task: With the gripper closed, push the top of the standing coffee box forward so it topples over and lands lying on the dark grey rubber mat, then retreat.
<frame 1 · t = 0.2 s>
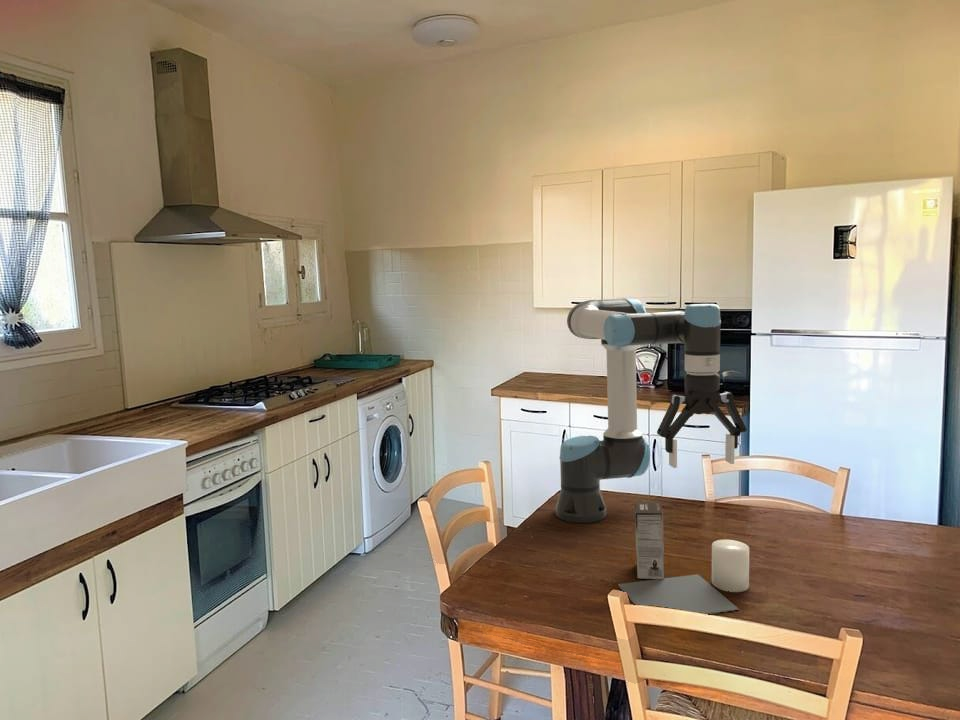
hand: (701, 464, 149), 28 cm above the table, fingers open, 13 cm apart
coffee box: (650, 572, 157), on the table, touching mat
white rounded cylinder: (730, 583, 150), on the table
mat: (675, 597, 144), on the table
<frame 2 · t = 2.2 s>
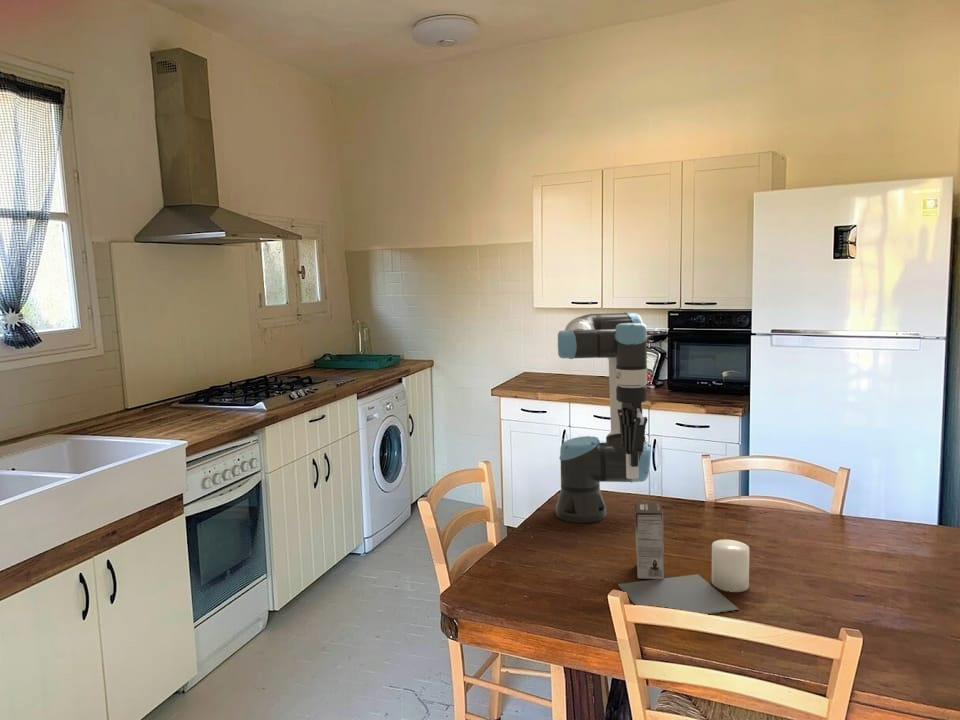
hand: (632, 477, 164), 21 cm above the table, fingers closed
nothing on the table moved.
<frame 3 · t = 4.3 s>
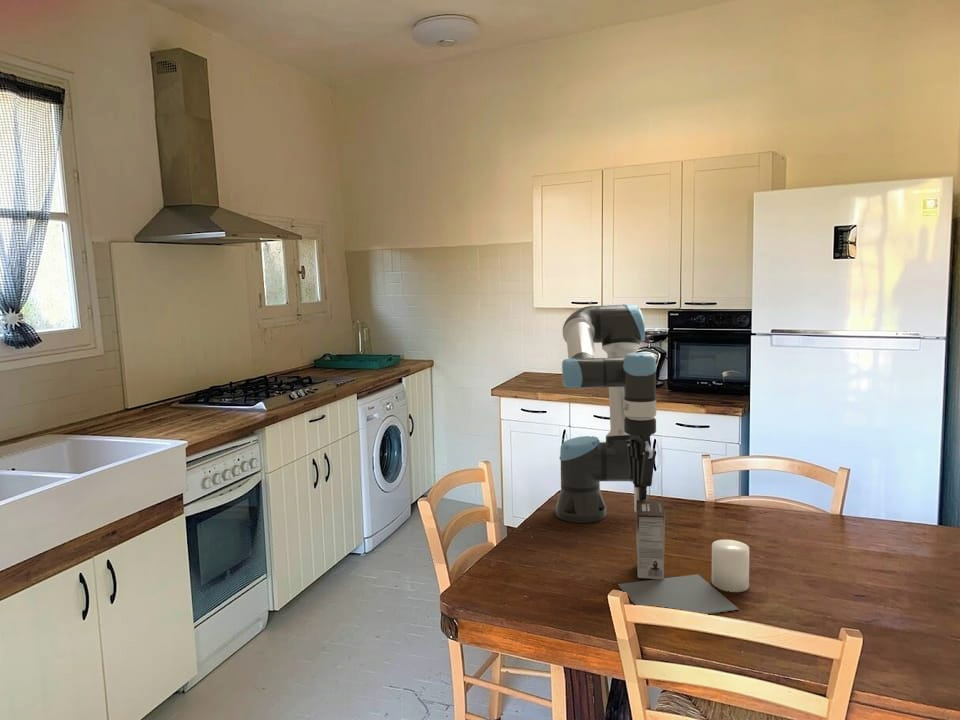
hand: (640, 511, 160), 14 cm above the table, fingers closed
coffee box: (650, 570, 157), on the table, touching gripper, mat
everything else where it was.
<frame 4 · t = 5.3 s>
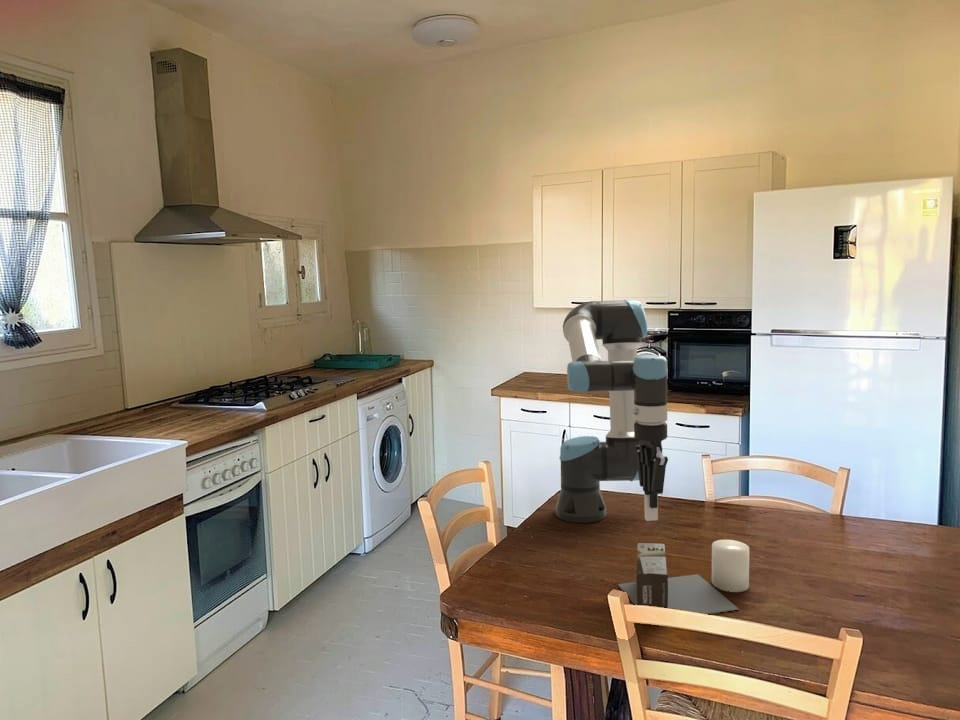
hand: (651, 519, 154), 14 cm above the table, fingers closed
coffee box: (651, 561, 152), point 5 cm above the table, touching mat
everything else where it was.
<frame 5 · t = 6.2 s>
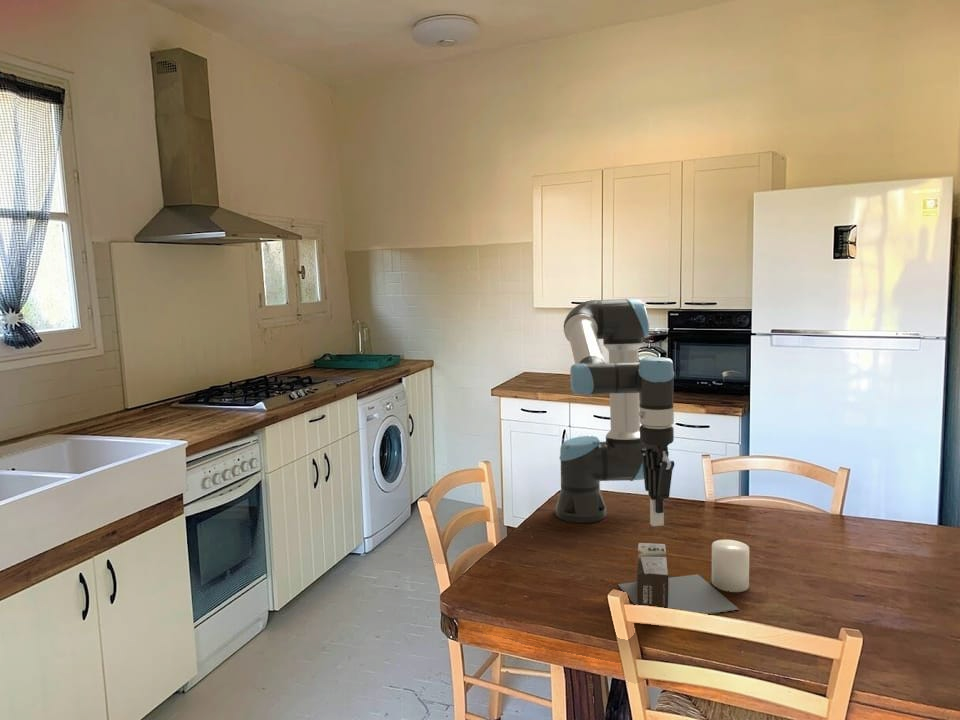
hand: (657, 524, 151), 13 cm above the table, fingers closed
nothing on the table moved.
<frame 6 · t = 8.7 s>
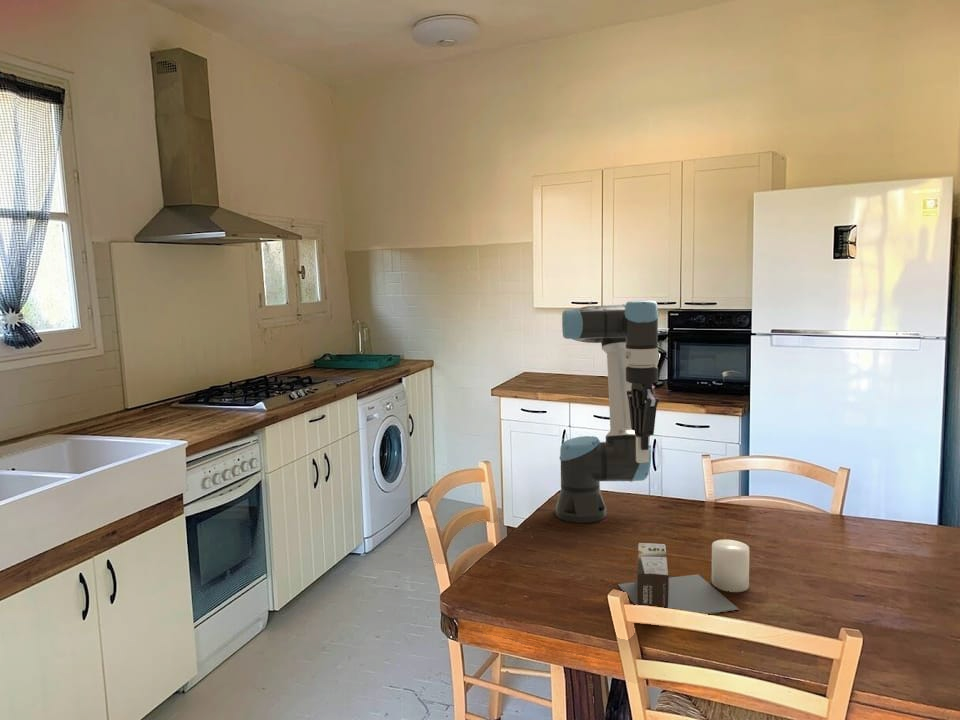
hand: (642, 461, 158), 26 cm above the table, fingers closed
nothing on the table moved.
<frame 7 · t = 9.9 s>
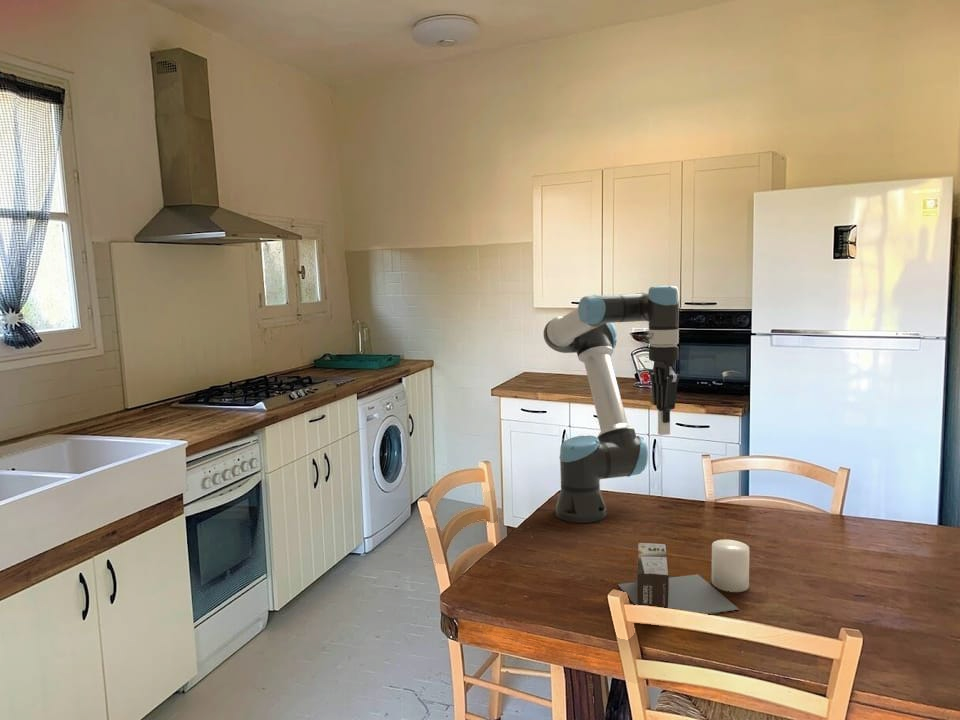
hand: (663, 433, 172), 29 cm above the table, fingers closed
nothing on the table moved.
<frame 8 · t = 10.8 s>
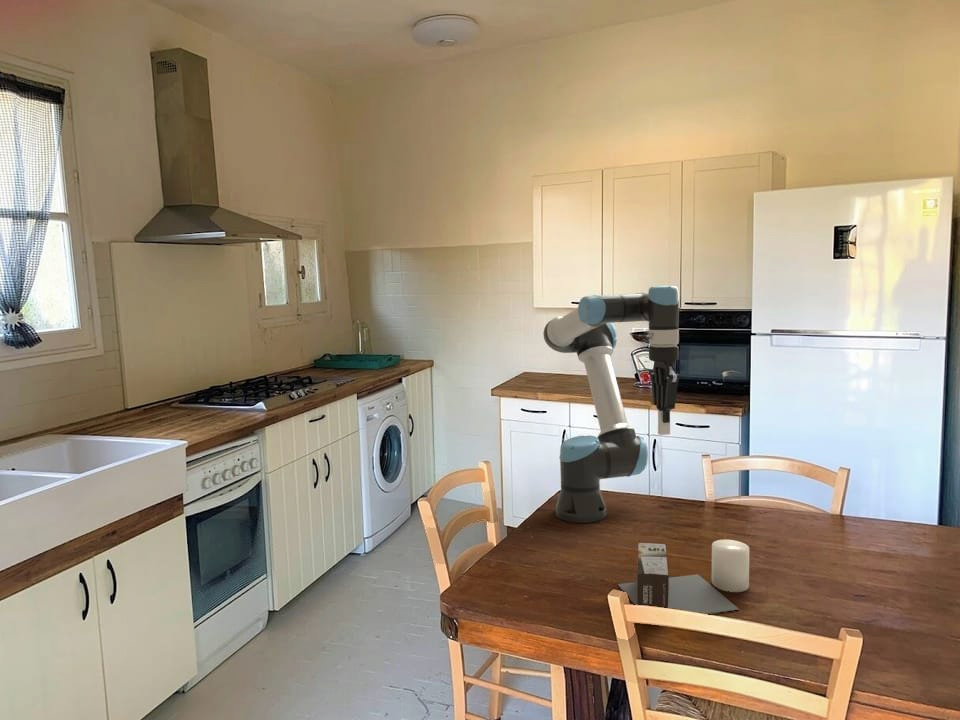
hand: (664, 433, 172), 29 cm above the table, fingers closed
nothing on the table moved.
at the end: coffee box tilted 89°; coffee box inside the target area (6.8 cm from its centre), point 4.8 cm above the table; white rounded cylinder moved 0.1 cm from its start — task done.
